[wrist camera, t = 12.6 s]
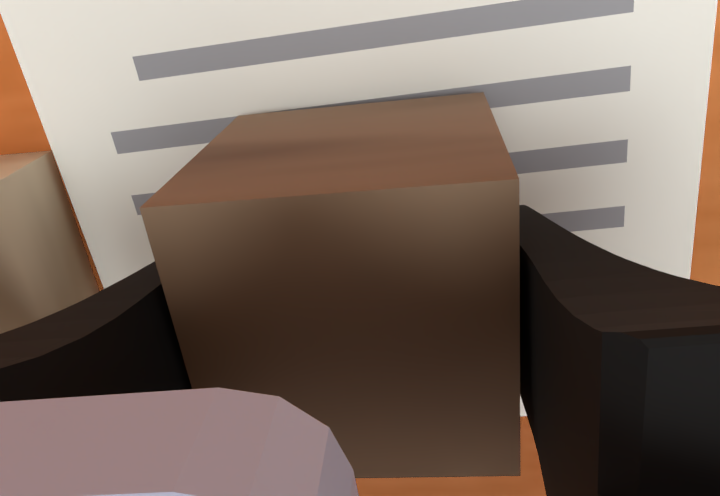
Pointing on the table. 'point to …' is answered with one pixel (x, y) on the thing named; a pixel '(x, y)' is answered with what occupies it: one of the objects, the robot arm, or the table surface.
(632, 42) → the letter
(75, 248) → the beech block
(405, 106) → the walnut block
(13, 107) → the table surface
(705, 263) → the table surface
